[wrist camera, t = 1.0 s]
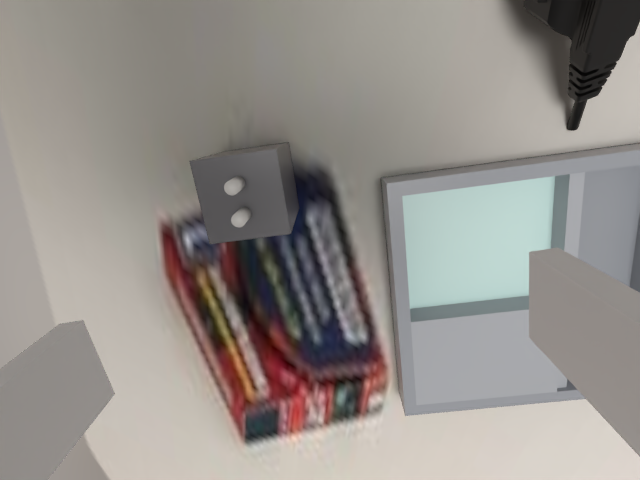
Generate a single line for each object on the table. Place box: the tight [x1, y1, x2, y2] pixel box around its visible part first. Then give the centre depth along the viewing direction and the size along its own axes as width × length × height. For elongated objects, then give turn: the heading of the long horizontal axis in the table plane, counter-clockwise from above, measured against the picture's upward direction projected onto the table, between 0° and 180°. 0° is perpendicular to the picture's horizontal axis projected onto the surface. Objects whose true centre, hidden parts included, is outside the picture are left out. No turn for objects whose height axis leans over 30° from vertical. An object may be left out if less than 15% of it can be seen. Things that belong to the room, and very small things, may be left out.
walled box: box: [381, 143, 640, 416], centre depth 29 cm, size 20×20×3 cm
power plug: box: [524, 0, 640, 130], centre depth 23 cm, size 6×8×12 cm
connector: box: [190, 142, 299, 244], centre depth 24 cm, size 5×5×9 cm
